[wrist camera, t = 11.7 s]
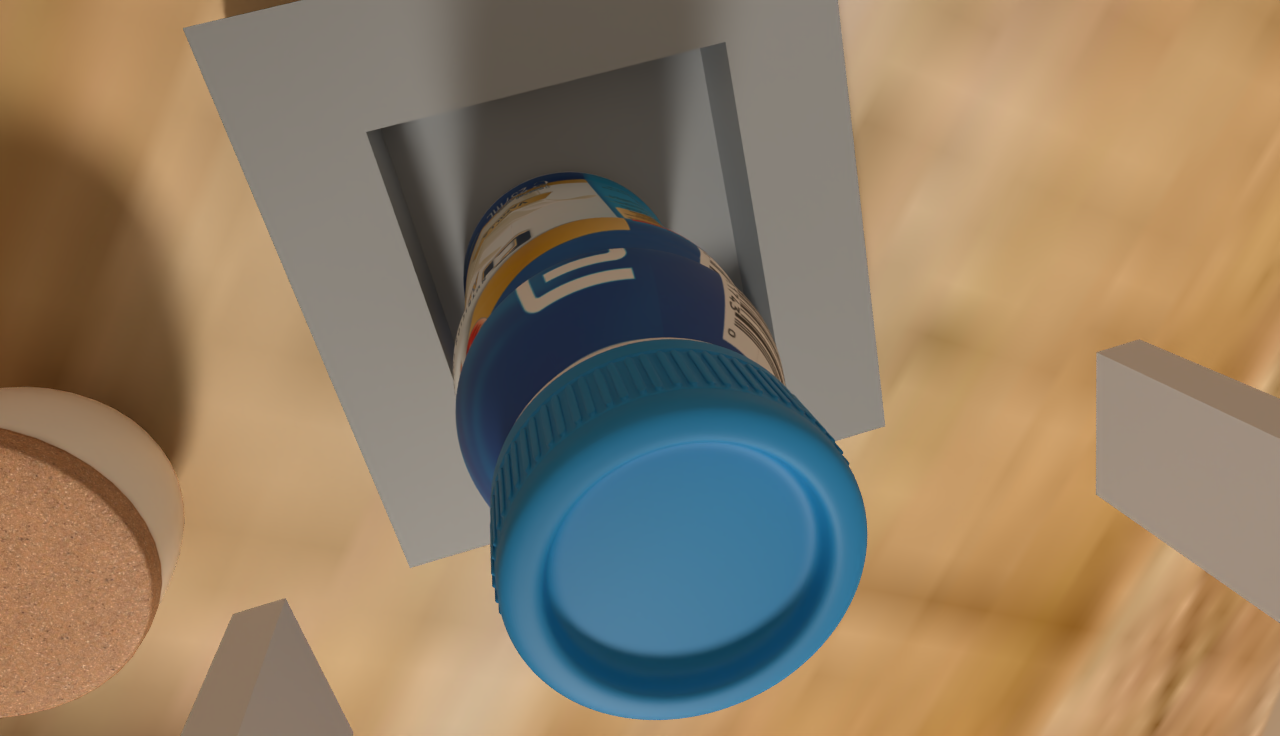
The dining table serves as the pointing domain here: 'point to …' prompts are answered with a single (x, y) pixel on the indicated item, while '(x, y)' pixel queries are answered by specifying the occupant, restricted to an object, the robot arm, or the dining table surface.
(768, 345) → the beverage bottle
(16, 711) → the lidded jar
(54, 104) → the dining table surface
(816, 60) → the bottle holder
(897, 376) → the dining table surface
